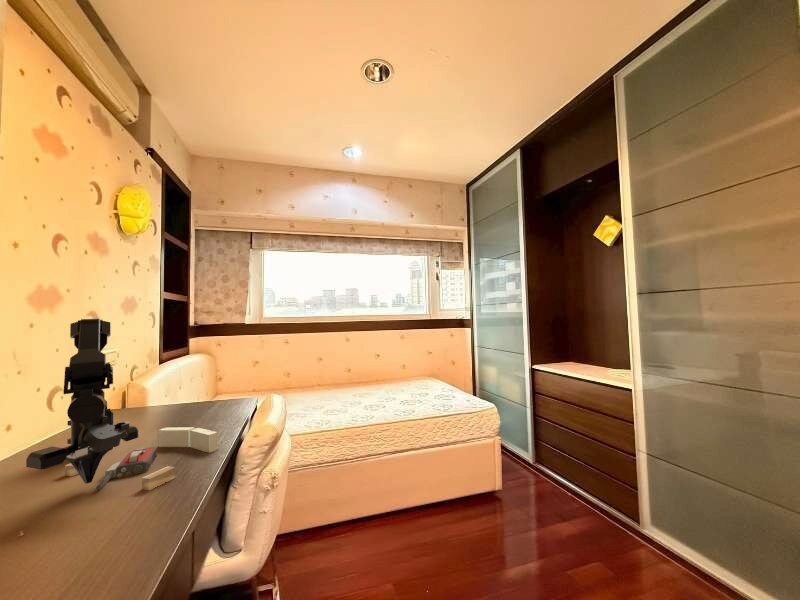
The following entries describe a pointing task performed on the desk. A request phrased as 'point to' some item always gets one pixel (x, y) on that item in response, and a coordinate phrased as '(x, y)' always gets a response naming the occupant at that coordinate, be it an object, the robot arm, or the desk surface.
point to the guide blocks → (147, 481)
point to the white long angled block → (188, 438)
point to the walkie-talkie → (131, 464)
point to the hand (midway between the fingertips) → (88, 482)
